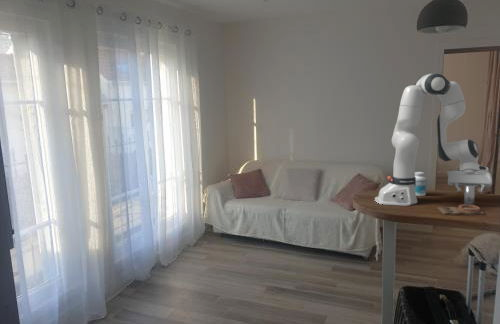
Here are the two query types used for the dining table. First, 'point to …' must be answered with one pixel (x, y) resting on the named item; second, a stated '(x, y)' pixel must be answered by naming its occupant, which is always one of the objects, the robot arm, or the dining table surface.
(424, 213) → the dining table surface
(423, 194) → the pill bottle
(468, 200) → the steel peg
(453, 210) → the gauge board
